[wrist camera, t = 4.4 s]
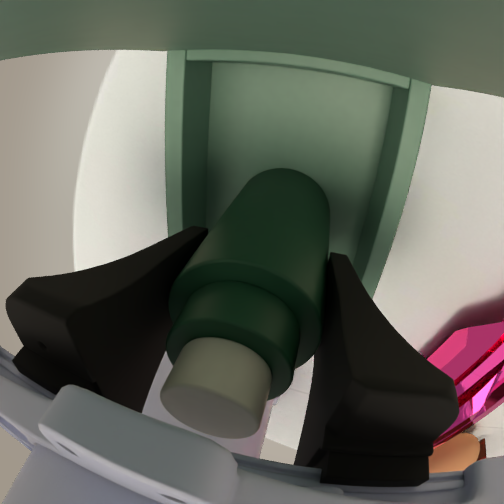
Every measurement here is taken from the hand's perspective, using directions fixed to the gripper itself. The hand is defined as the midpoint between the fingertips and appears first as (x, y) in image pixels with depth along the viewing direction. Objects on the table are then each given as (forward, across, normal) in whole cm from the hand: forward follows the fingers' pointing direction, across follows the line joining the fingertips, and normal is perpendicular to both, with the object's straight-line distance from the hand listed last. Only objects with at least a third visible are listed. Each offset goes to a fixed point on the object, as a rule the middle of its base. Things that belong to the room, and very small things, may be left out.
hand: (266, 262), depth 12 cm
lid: (-5, 0, -7) cm, 9 cm away
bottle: (+4, 0, 0) cm, 4 cm away
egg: (+3, -24, +19) cm, 31 cm away
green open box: (+5, 0, -2) cm, 6 cm away
